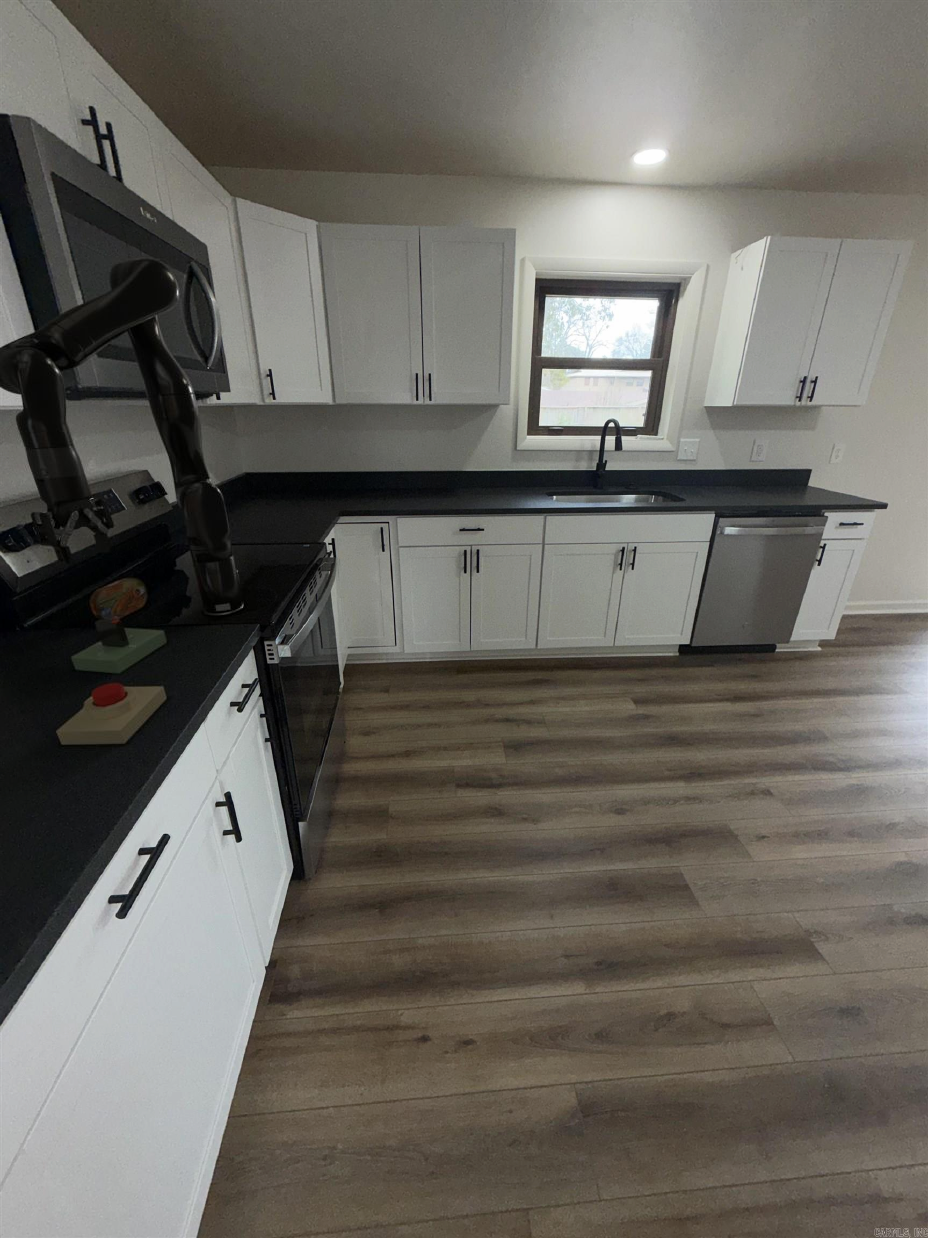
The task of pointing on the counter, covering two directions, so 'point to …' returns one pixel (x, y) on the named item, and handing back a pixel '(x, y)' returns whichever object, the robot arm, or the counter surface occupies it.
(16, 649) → the counter surface
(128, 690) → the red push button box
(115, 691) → the power button
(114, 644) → the black upright block
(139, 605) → the tin
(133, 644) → the panel
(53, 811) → the counter surface
